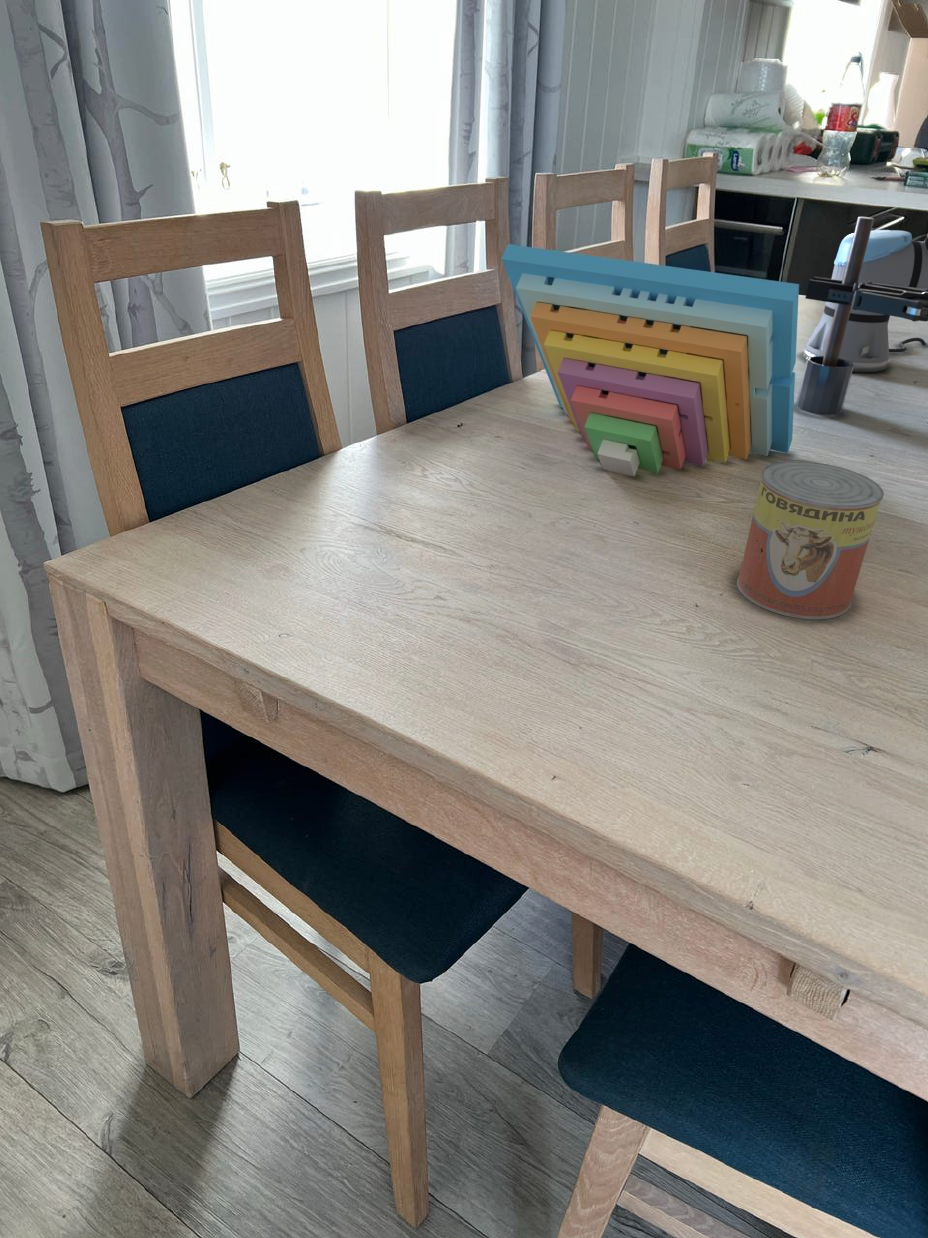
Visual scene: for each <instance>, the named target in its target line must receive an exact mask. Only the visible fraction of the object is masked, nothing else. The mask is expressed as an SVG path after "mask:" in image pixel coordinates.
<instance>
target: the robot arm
mask: <svg viewBox="0 0 928 1238" xmlns="http://www.w3.org/2000/svg"><path fill="white" fill-rule="evenodd" d="M912 235H913V234H912V233H911V232H909V231H905V230H895V229H894V230H893V229H891V230H890V229H875V230H871V233H870V237H869V241H868V244H867V248H866V252H865V256H864V260H863V264H862V268H861V272H860V276H859V280H858V283H854V286H852V285H845V284H842V281H843V277H844V272H845V268H846V264H847V260H848V256H849V252H850V248H851V244H852V240H853V236H854V232H853V233H850V234H848V235H846V236H845V237H844V238H843V239H842V240H841V242H840V244H839V248H838V251H837V254H836V257H835V259H834V261H833V264H834V266H833V270H832V275H831V278H828V277H820V276H814V277H813V279H809V280H808V284H807V289H806V292H805V298H804V299H806V300H811V301H818V302H825V304H824V309H823V313H822V316H821V318H820V320H819V322H818V323H817V324H816V326H815V329H814V330H813V332H812V334H811V336H810V337H809V339H808V341H807V343H806V345H805V346H804V350H803V354H802V357H803V358H804V359H805V361H806V360H807V358H808V357H810V356H824V354H825V350H826V346H827V342H828V338H829V334H830V329H831V325H832V321H833V317H834V313H835V309H836V305H837V304H844V305H849V306H851V311H850V315H849V319H848V323H847V327H846V331H845V335H844V339H843V343H842V347H841V351H840V355H839V358H841V359H845V360H848V361H850V362H852V363H853V364H854V367H853V371H852V373H877V372H882V371H885V370H886V369H887V367H888V364H889V360H890V353H904V352H906V351H907V350H908V347H907V346H906V344H909V343H912V342H919V343H920V344H921V345H922V346H927V343H926V341H925V339H923V338H921V337H910V338H907V339H904V340H902V341H900V342H898V346H899V348H890V346H889V326H888V325H889V323H890V322H889V321H890V319H891V317H896V318H901V319H904V320H907V321H908V320H909V321H912V322H928V234H927V235H926V237H925V239H924V241H920V240H913V237H912Z"/></svg>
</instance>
